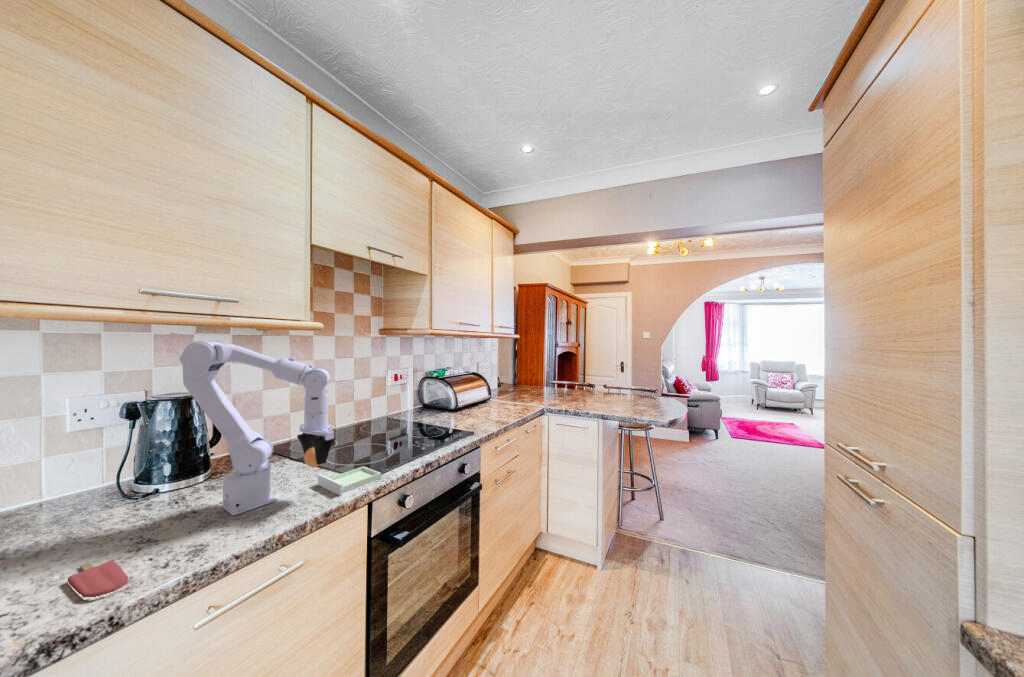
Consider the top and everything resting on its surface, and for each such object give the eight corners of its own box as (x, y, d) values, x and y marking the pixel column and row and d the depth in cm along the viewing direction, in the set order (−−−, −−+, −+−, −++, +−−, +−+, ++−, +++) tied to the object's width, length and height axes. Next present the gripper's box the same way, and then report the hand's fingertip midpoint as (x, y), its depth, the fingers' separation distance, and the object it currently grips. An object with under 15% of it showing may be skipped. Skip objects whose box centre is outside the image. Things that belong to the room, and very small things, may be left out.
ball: (310, 471, 89) (310, 450, 89) (300, 467, 92) (300, 446, 92) (331, 465, 94) (331, 445, 94) (320, 461, 97) (321, 441, 97)
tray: (344, 492, 95) (344, 486, 95) (326, 483, 100) (326, 478, 100) (381, 477, 105) (381, 472, 105) (363, 470, 110) (363, 466, 110)
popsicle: (106, 552, 66) (133, 578, 59) (105, 560, 66) (133, 587, 59) (60, 568, 61) (85, 599, 54) (60, 577, 61) (85, 608, 54)
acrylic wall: (340, 495, 93) (340, 484, 93) (317, 484, 100) (318, 474, 100) (342, 494, 93) (342, 484, 93) (319, 484, 100) (320, 474, 100)
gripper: (345, 413, 93) (344, 462, 93) (317, 406, 100) (317, 451, 101) (318, 417, 87) (317, 470, 87) (292, 410, 95) (291, 458, 95)
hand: (315, 461), depth 93 cm, fingers closed on ball, 6 cm apart
